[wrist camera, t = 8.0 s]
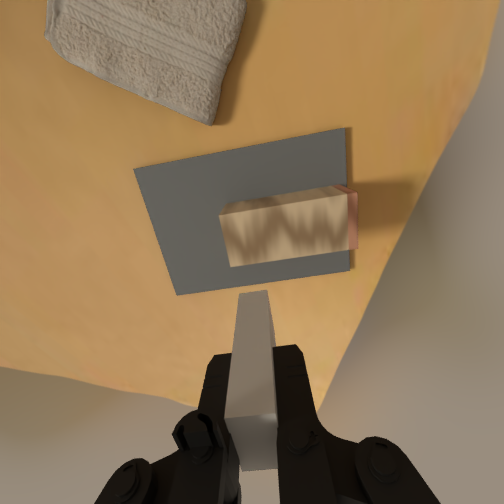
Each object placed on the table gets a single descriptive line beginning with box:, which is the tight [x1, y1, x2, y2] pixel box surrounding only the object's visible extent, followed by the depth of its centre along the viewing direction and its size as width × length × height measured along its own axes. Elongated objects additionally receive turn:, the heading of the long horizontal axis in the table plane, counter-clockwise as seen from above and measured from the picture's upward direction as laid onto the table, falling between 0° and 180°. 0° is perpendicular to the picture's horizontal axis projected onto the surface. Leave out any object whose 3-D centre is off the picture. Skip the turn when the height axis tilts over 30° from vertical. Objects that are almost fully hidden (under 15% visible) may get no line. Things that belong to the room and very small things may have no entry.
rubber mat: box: [133, 128, 350, 295], centre depth 32 cm, size 18×25×1 cm
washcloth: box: [44, 0, 247, 126], centre depth 24 cm, size 12×18×3 cm, turn 68°
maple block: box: [219, 184, 358, 267], centre depth 29 cm, size 6×6×14 cm
